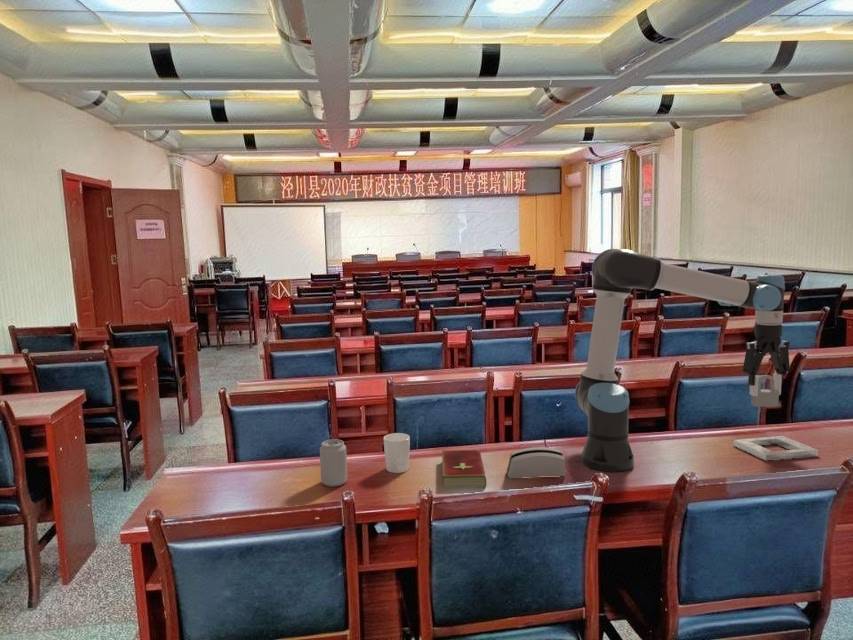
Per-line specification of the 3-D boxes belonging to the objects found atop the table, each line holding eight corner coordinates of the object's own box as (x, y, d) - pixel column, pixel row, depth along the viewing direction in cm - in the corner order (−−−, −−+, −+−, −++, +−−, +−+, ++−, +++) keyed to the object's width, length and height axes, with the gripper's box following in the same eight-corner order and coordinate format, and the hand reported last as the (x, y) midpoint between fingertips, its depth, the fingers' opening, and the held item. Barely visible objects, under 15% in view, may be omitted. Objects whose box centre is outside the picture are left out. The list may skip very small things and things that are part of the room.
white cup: (387, 475, 169) (386, 442, 167) (382, 466, 176) (381, 434, 175) (413, 472, 171) (412, 439, 169) (407, 463, 178) (406, 431, 177)
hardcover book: (480, 461, 179) (480, 448, 179) (486, 489, 158) (486, 474, 158) (442, 462, 179) (442, 449, 179) (443, 490, 159) (442, 475, 158)
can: (348, 477, 168) (347, 437, 167) (346, 487, 161) (344, 446, 159) (323, 478, 168) (321, 438, 166) (319, 488, 160) (317, 447, 159)
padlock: (756, 407, 182) (758, 376, 181) (750, 404, 186) (751, 373, 185) (779, 407, 182) (781, 376, 181) (772, 403, 186) (774, 373, 185)
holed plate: (765, 461, 172) (766, 454, 172) (733, 446, 186) (733, 440, 186) (817, 456, 175) (818, 449, 175) (782, 441, 189) (782, 435, 189)
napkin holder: (561, 470, 169) (564, 443, 165) (565, 481, 165) (568, 454, 160) (505, 472, 169) (506, 445, 164) (507, 483, 165) (509, 456, 160)
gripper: (747, 326, 176) (744, 399, 178) (806, 323, 179) (802, 395, 181) (731, 323, 183) (728, 393, 186) (788, 320, 186) (784, 389, 189)
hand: (765, 394), depth 184 cm, fingers closed on padlock, 7 cm apart
